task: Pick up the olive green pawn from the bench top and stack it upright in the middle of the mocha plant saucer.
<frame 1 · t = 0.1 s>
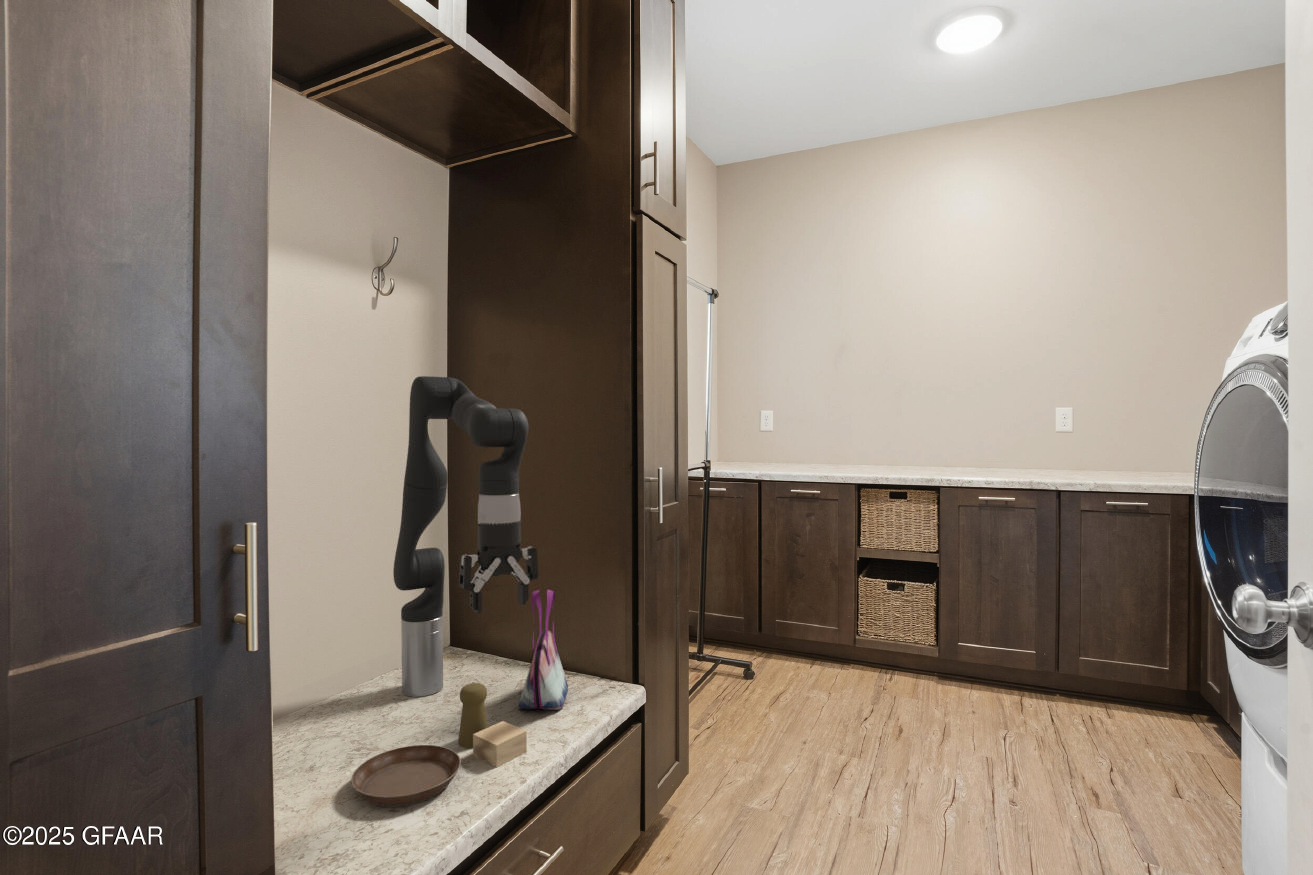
hand: (499, 607, 118), 29 cm above the worktop, fingers open, 8 cm apart
olive green pawn: (473, 741, 128), on the worktop
oak base block: (500, 753, 123), on the worktop
handbag: (544, 700, 147), on the worktop
plant saucer: (407, 786, 113), on the worktop
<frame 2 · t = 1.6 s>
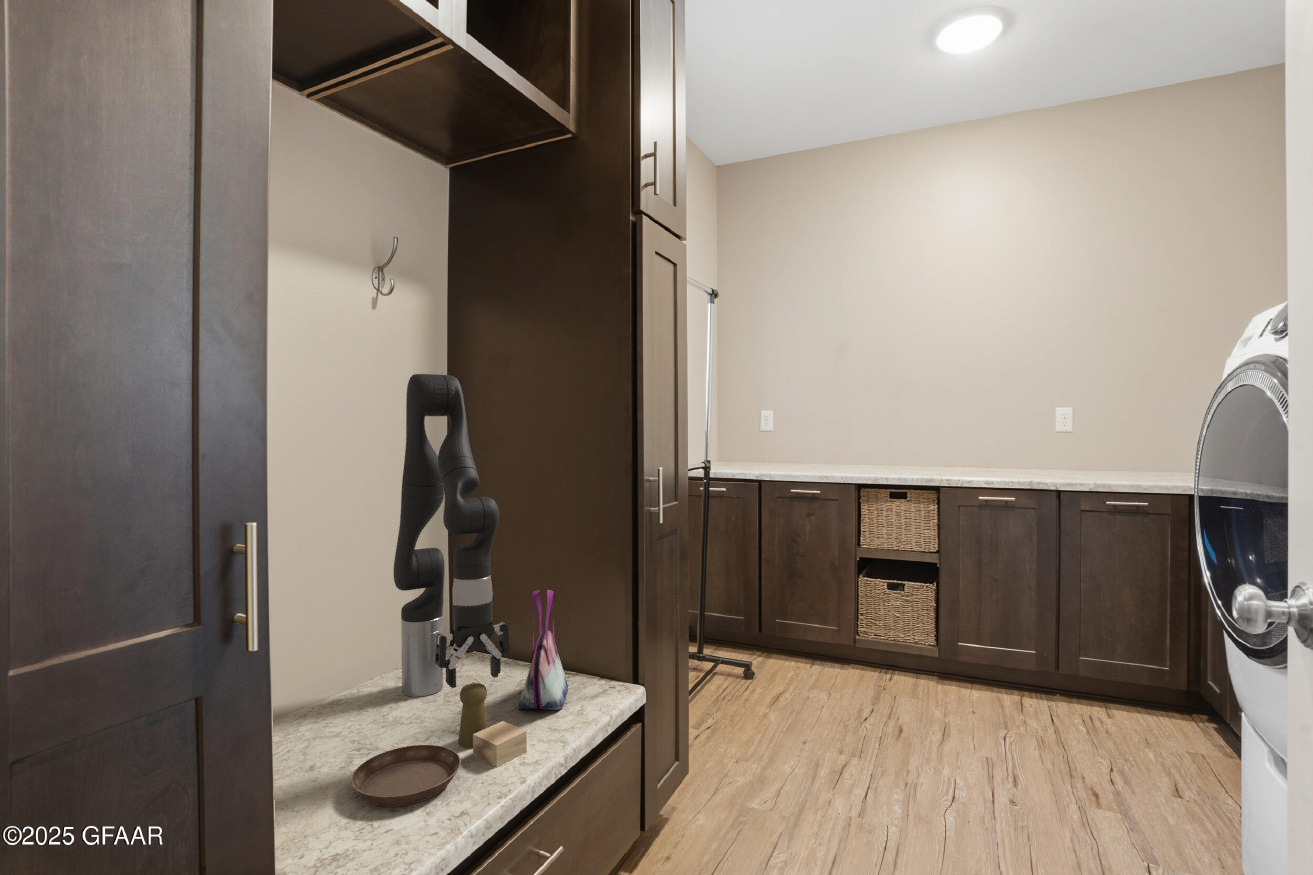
hand: (473, 681, 128), 12 cm above the worktop, fingers open, 8 cm apart
nothing on the worktop moved.
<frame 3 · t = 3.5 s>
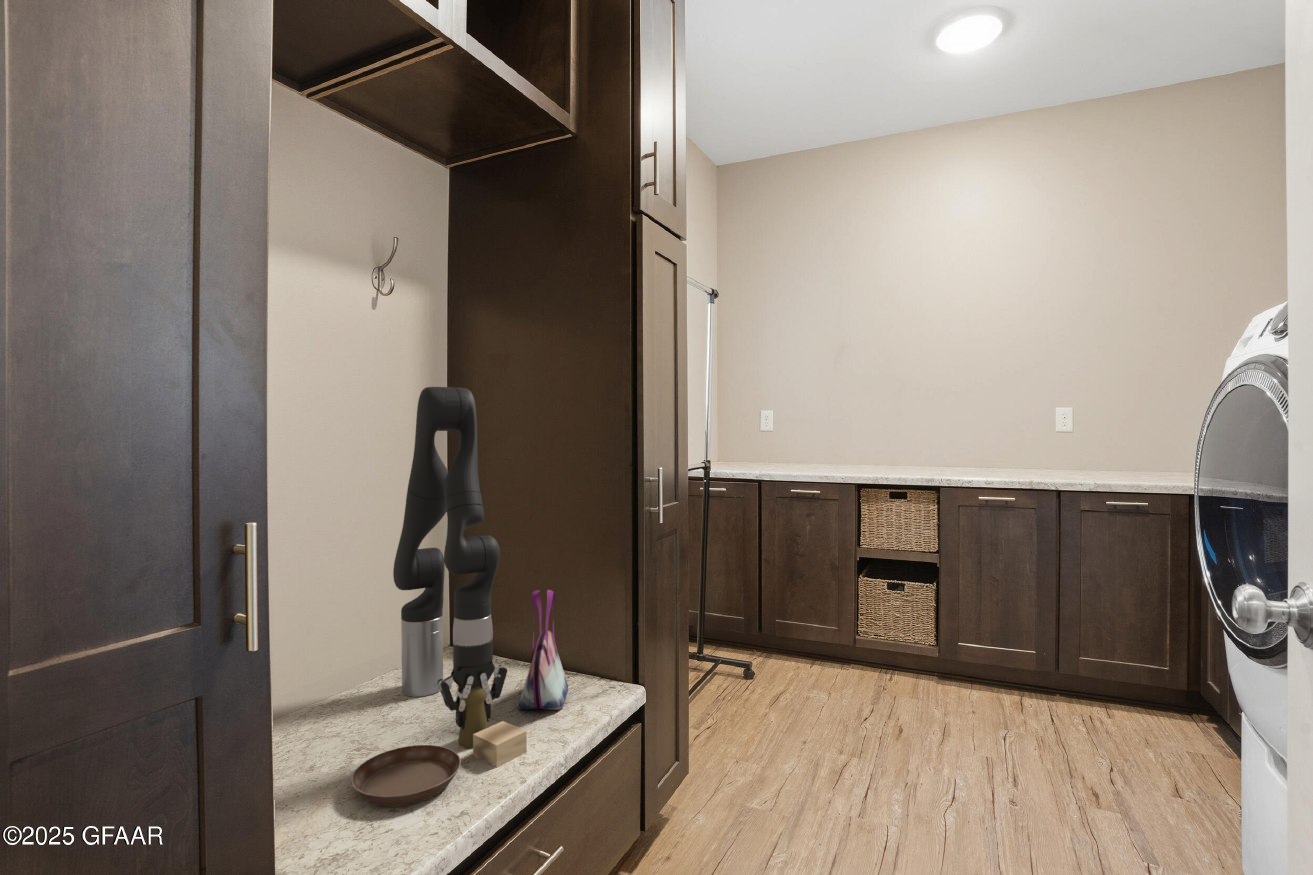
hand: (473, 724, 128), 3 cm above the worktop, fingers closed on olive green pawn, 4 cm apart
olive green pawn: (473, 741, 128), on the worktop, touching gripper
everything else where it was.
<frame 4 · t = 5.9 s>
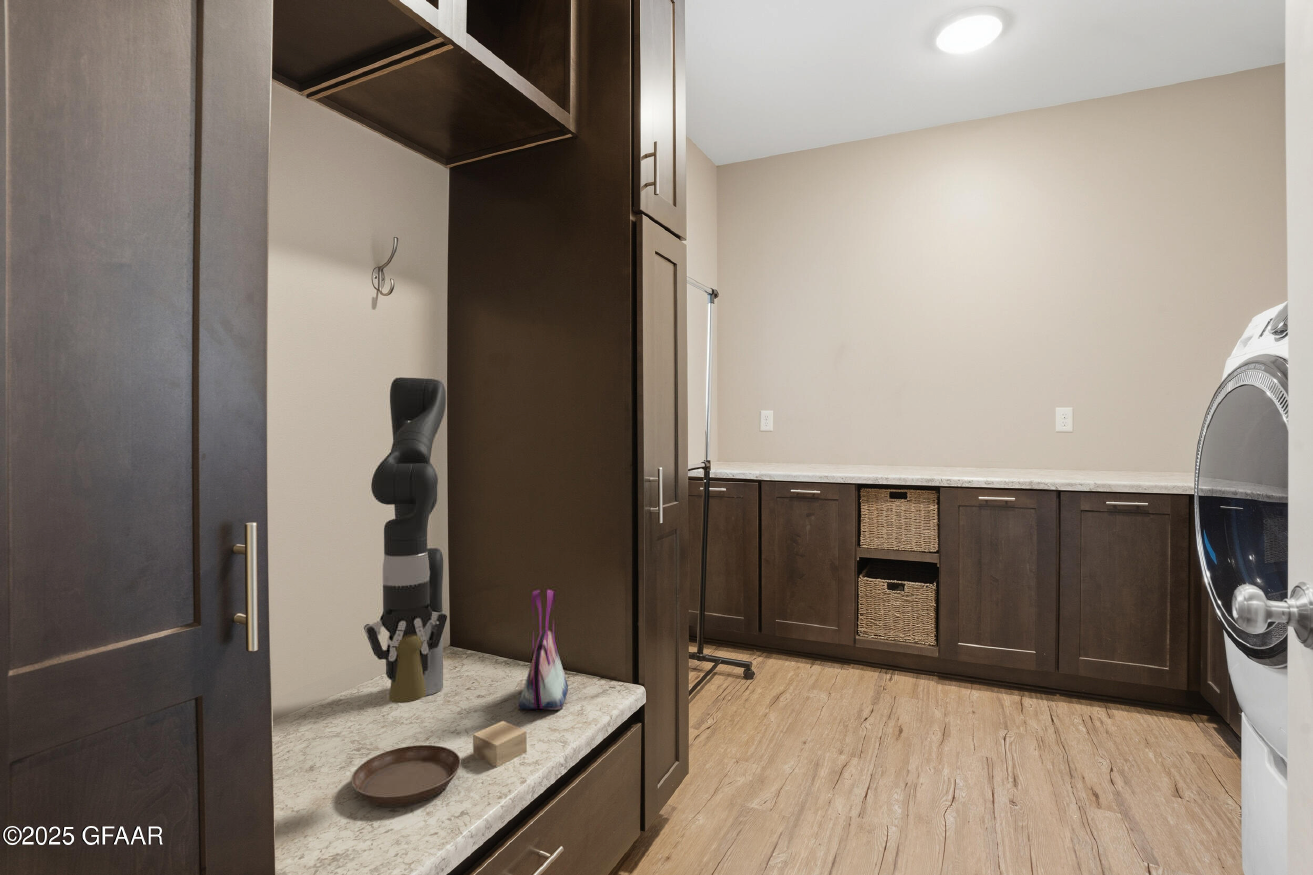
hand: (407, 676, 113), 19 cm above the worktop, fingers closed on olive green pawn, 4 cm apart
olive green pawn: (407, 696, 113), point 15 cm above the worktop, touching gripper
everything else where it was.
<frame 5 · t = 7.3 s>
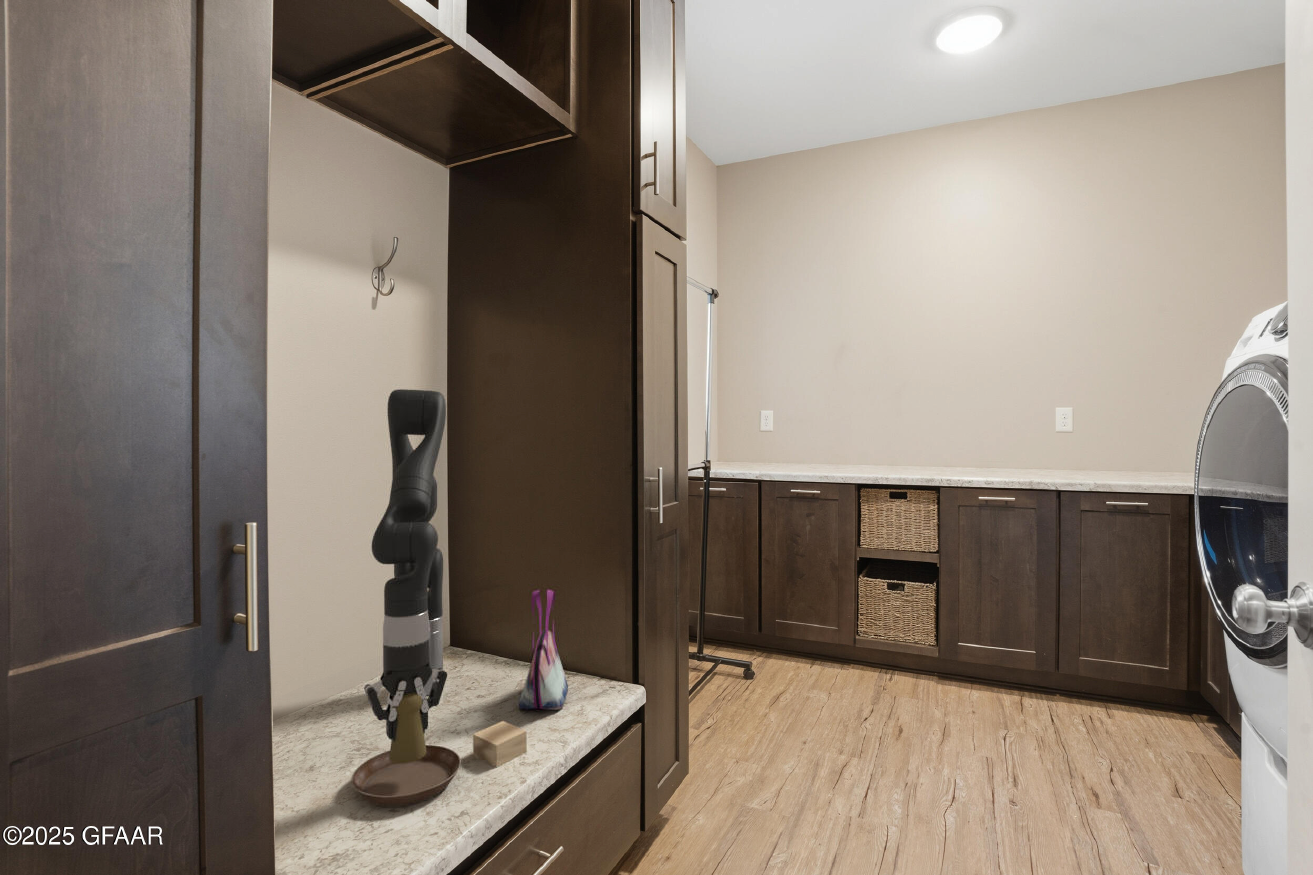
hand: (407, 735, 113), 8 cm above the worktop, fingers closed on olive green pawn, 4 cm apart
olive green pawn: (408, 755, 113), point 5 cm above the worktop, touching gripper
everything else where it was.
when the fingers open (7 cm above the worktop, at t = 8.6 s): olive green pawn drops 1 cm, resting on plant saucer.
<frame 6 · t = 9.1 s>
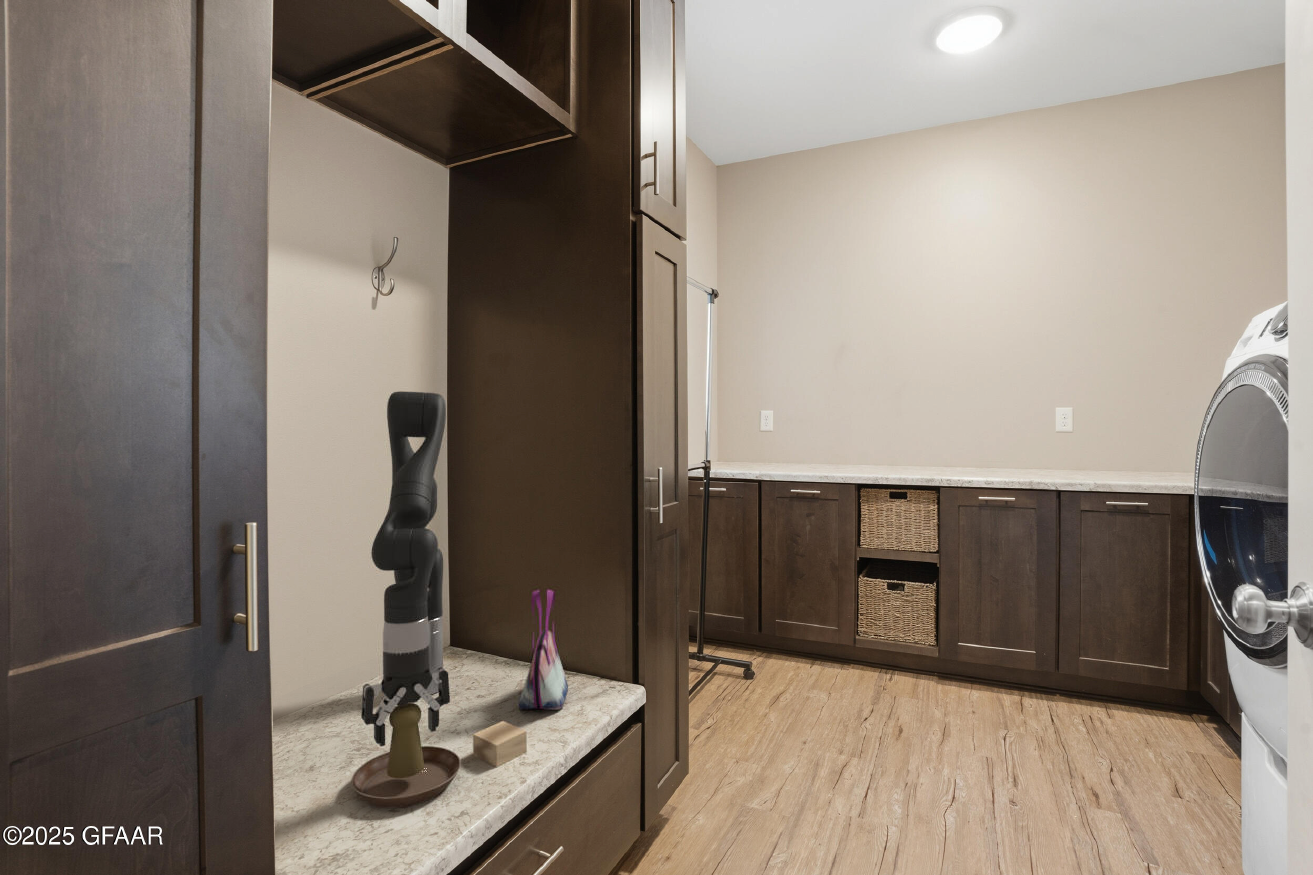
hand: (407, 737, 113), 8 cm above the worktop, fingers open, 8 cm apart
olive green pawn: (405, 770, 113), point 2 cm above the worktop, touching plant saucer
plant saucer: (407, 787, 113), on the worktop, touching olive green pawn
everything else where it was.
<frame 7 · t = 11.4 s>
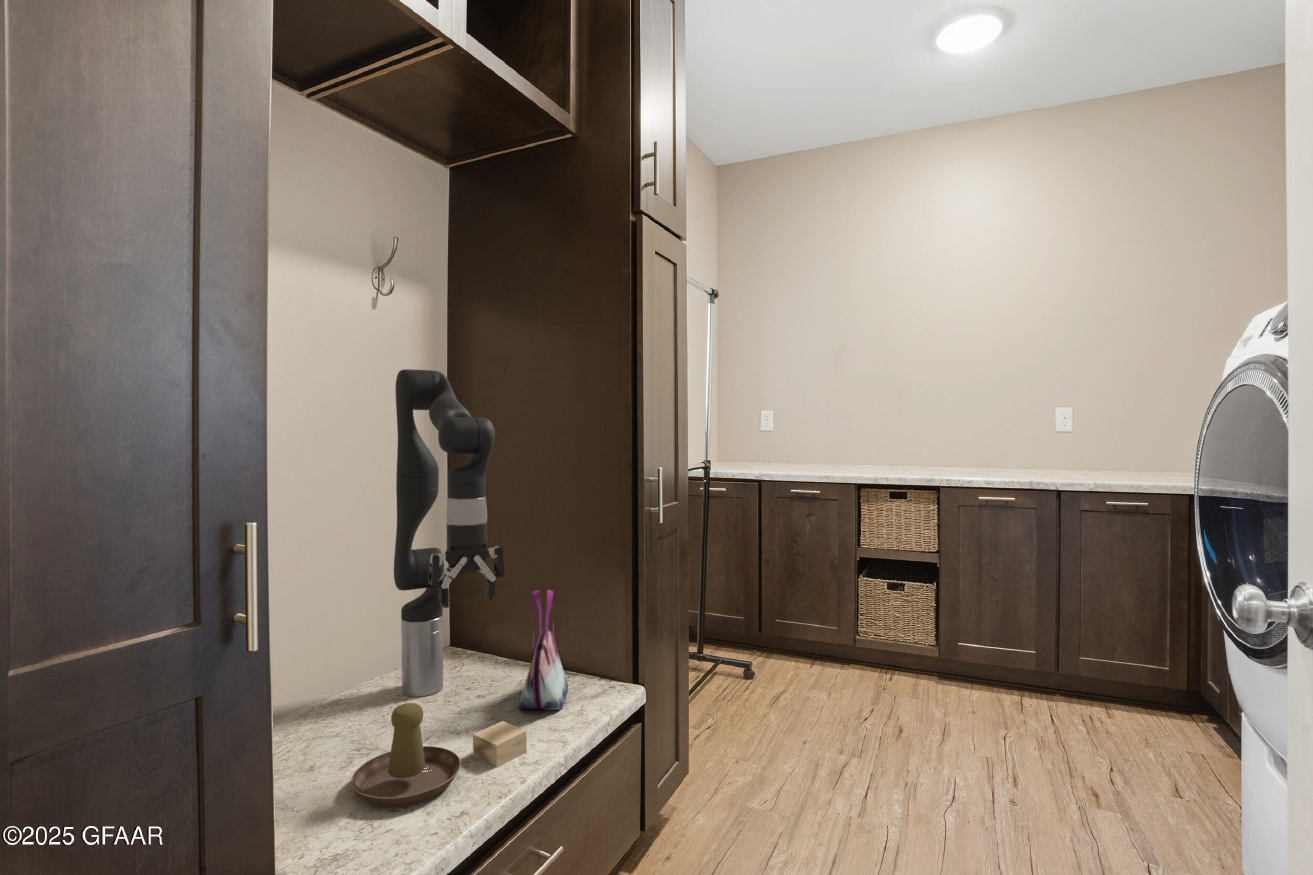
hand: (467, 603, 126), 28 cm above the worktop, fingers open, 8 cm apart
nothing on the worktop moved.
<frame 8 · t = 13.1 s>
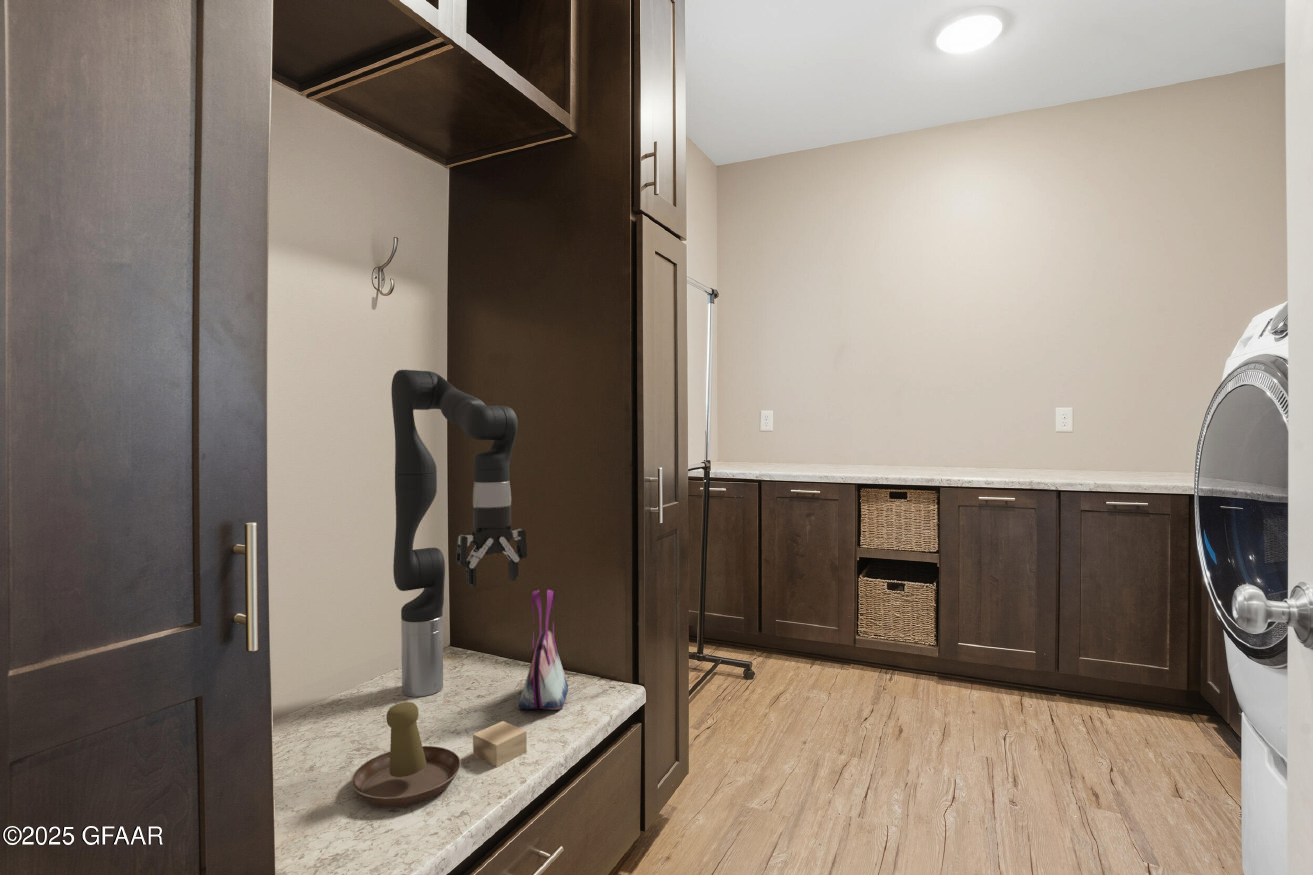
hand: (492, 583, 132), 30 cm above the worktop, fingers open, 8 cm apart
at the end: olive green pawn 0.2 cm from the plant saucer (horizontally); olive green pawn tilted 4°; olive green pawn point 2.5 cm above the worktop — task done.
